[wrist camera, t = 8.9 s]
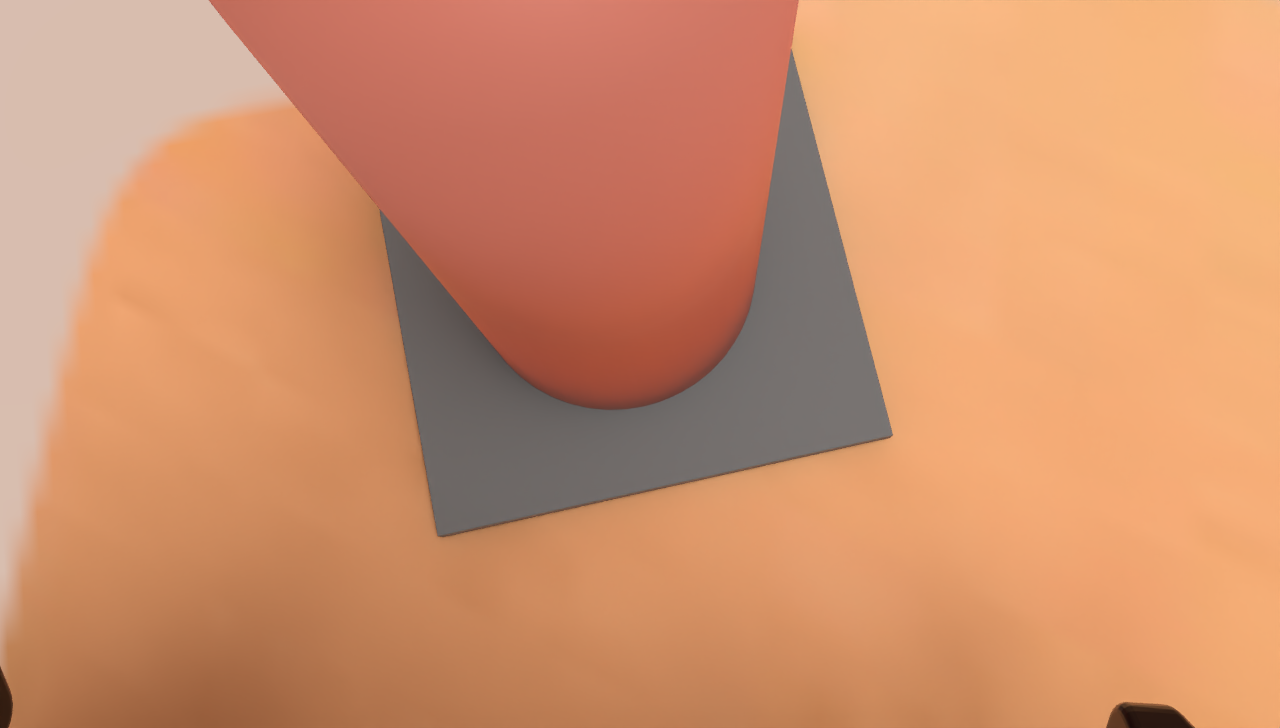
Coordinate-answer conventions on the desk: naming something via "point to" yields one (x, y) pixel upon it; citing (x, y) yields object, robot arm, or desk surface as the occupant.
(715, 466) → the pad
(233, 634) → the desk surface
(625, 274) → the red plug
